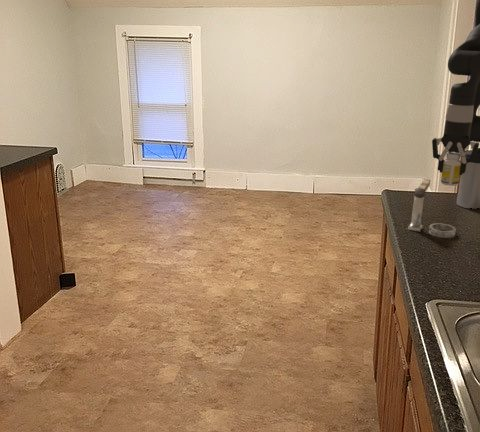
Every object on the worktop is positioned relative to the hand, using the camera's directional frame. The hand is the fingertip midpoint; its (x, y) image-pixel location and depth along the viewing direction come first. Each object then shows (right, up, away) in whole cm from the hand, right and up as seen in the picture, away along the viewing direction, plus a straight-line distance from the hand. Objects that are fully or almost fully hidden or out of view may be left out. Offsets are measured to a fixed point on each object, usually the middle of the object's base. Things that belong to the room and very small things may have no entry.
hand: (450, 173), depth 176 cm
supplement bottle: (0, -4, +1) cm, 4 cm away
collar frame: (-3, -19, +8) cm, 21 cm away
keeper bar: (-5, -5, +12) cm, 14 cm away
